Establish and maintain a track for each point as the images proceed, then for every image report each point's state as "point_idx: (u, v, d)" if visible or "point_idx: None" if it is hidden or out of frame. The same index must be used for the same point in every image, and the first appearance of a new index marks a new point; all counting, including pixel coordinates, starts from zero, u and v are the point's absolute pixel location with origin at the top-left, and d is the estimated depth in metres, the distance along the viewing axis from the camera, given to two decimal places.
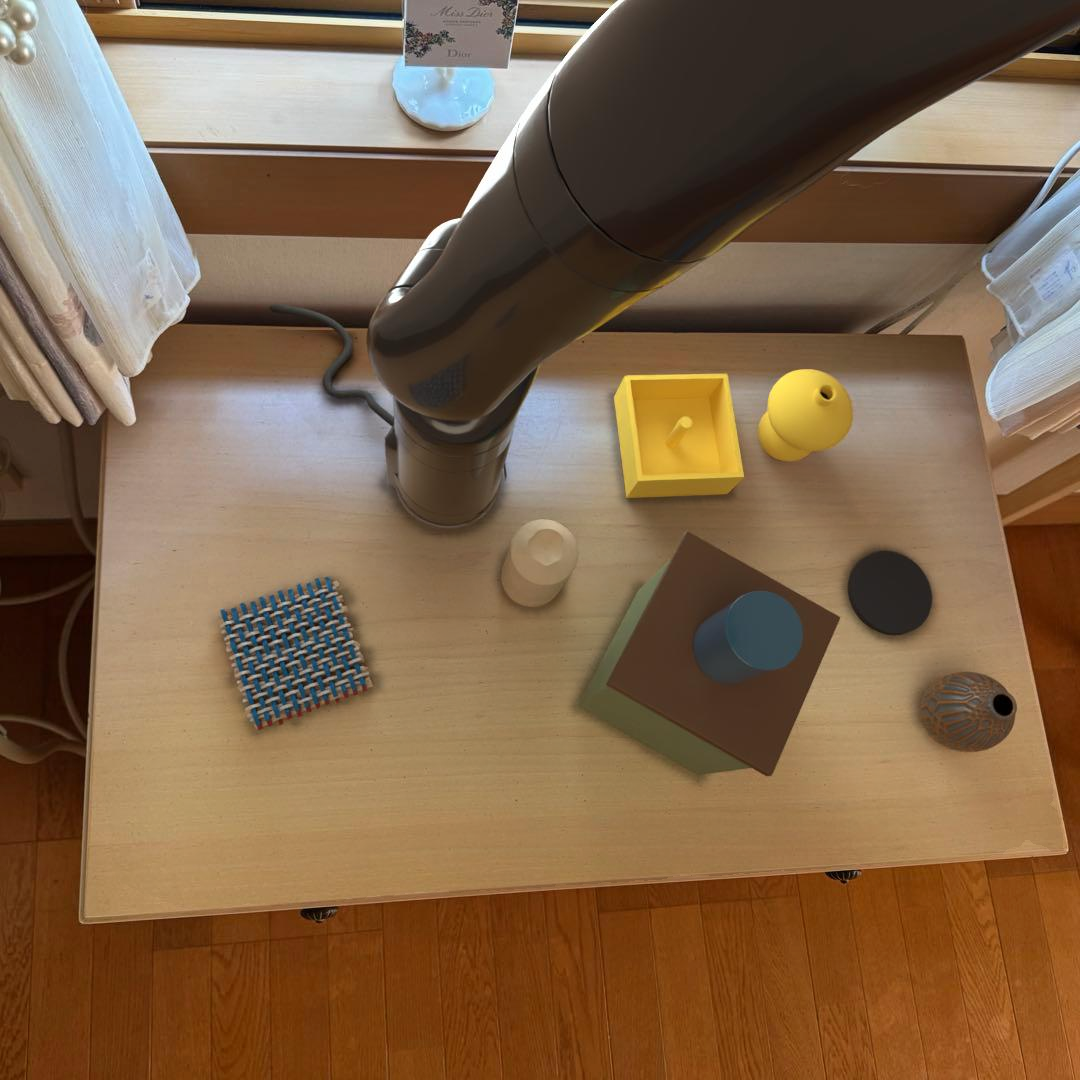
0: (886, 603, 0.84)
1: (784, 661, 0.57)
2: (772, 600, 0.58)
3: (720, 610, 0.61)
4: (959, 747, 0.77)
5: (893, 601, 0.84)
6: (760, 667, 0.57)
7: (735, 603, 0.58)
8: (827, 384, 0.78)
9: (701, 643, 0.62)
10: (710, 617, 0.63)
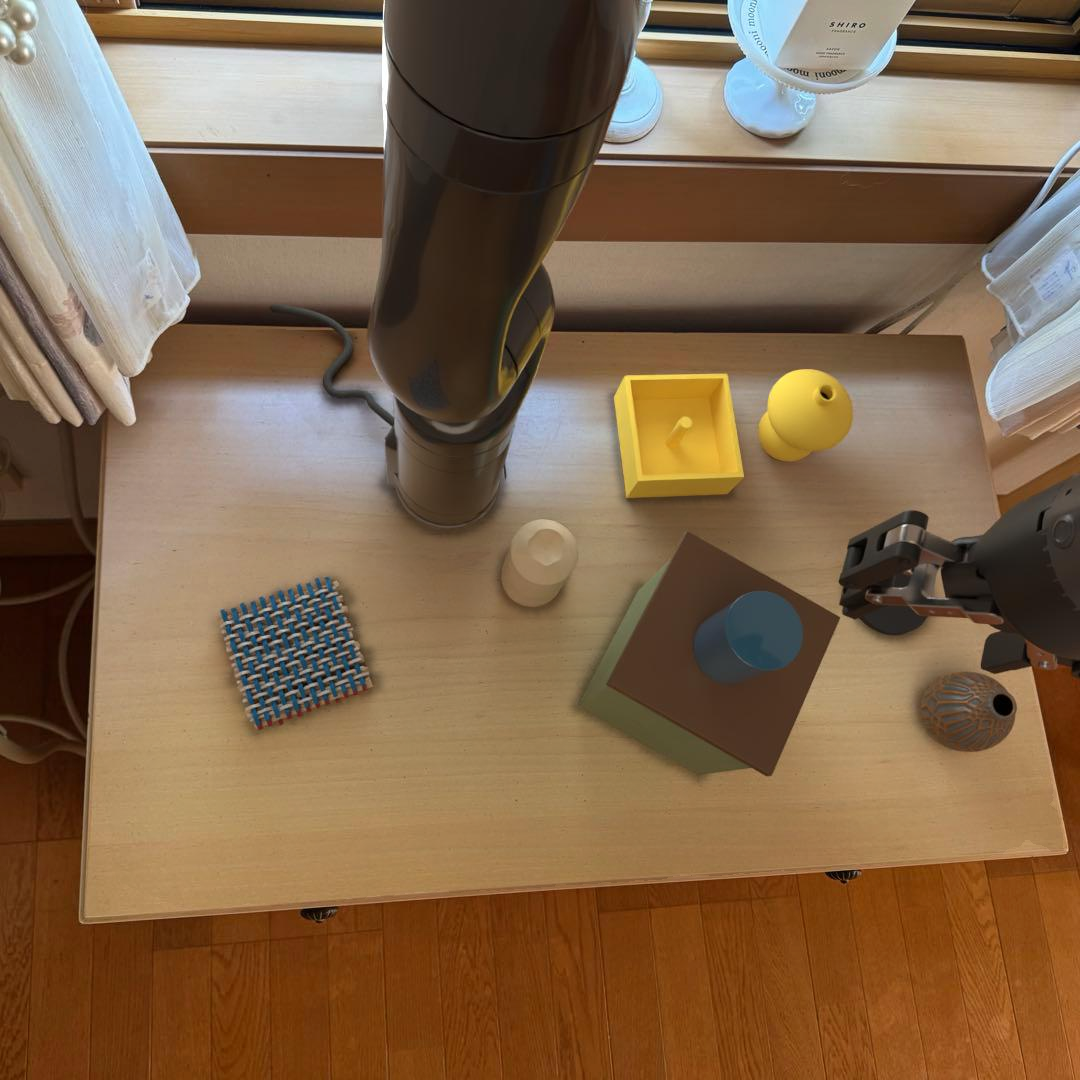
0: None
1: (784, 661, 0.57)
2: (772, 600, 0.58)
3: (720, 610, 0.61)
4: (959, 747, 0.77)
5: None
6: (760, 667, 0.57)
7: (735, 603, 0.58)
8: (827, 384, 0.78)
9: (701, 643, 0.62)
10: (710, 617, 0.63)
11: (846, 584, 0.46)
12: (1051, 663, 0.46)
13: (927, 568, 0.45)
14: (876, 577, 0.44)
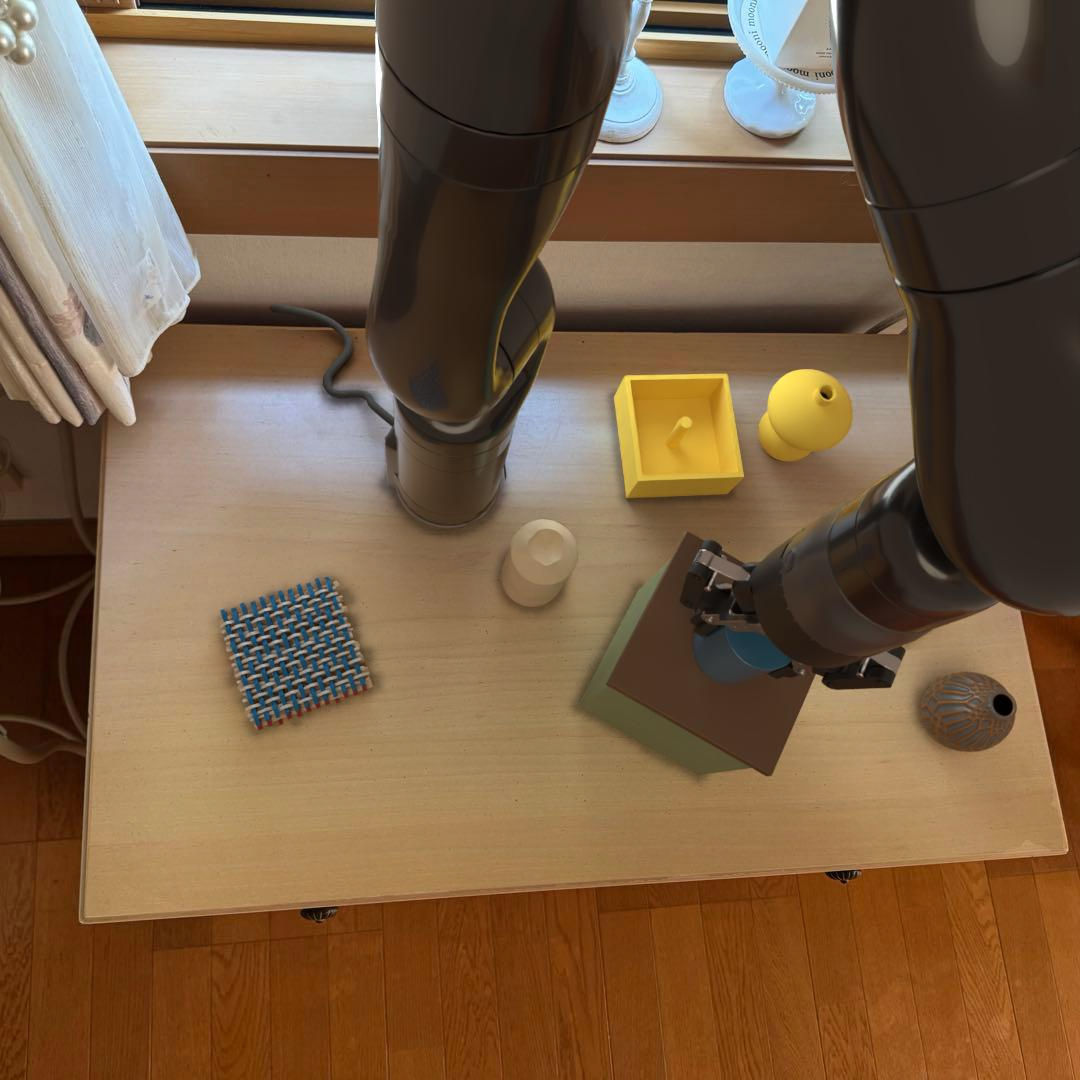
0: None
1: (784, 661, 0.57)
2: None
3: None
4: (959, 747, 0.77)
5: None
6: (760, 667, 0.57)
7: None
8: (827, 384, 0.78)
9: (701, 643, 0.62)
10: None
11: (684, 603, 0.57)
12: (805, 670, 0.57)
13: None
14: (695, 595, 0.55)
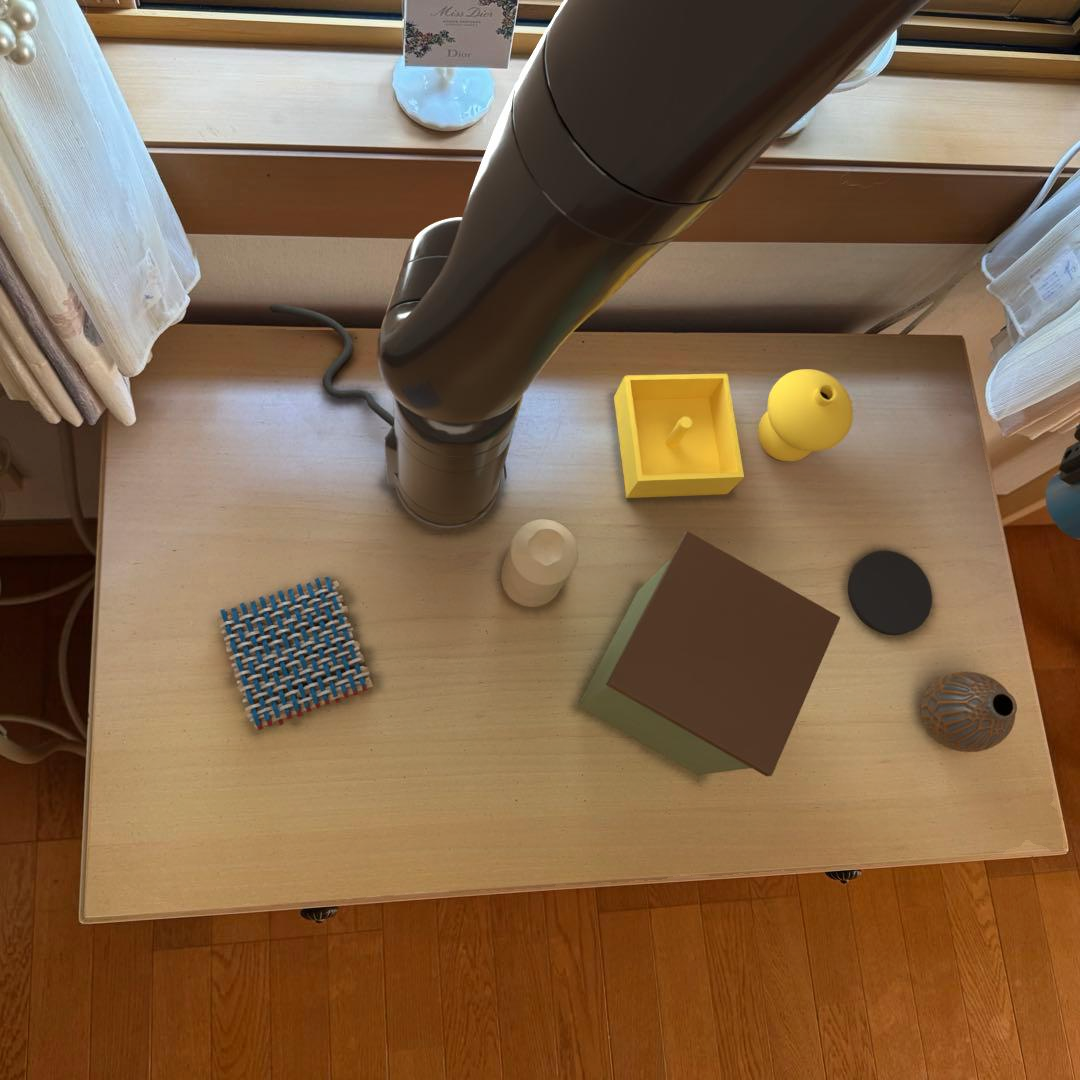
0: (886, 603, 0.84)
1: None
2: None
3: None
4: (959, 747, 0.77)
5: (893, 601, 0.84)
6: None
7: None
8: (827, 384, 0.78)
9: (1066, 493, 0.58)
10: None
11: None
12: None
13: None
14: None
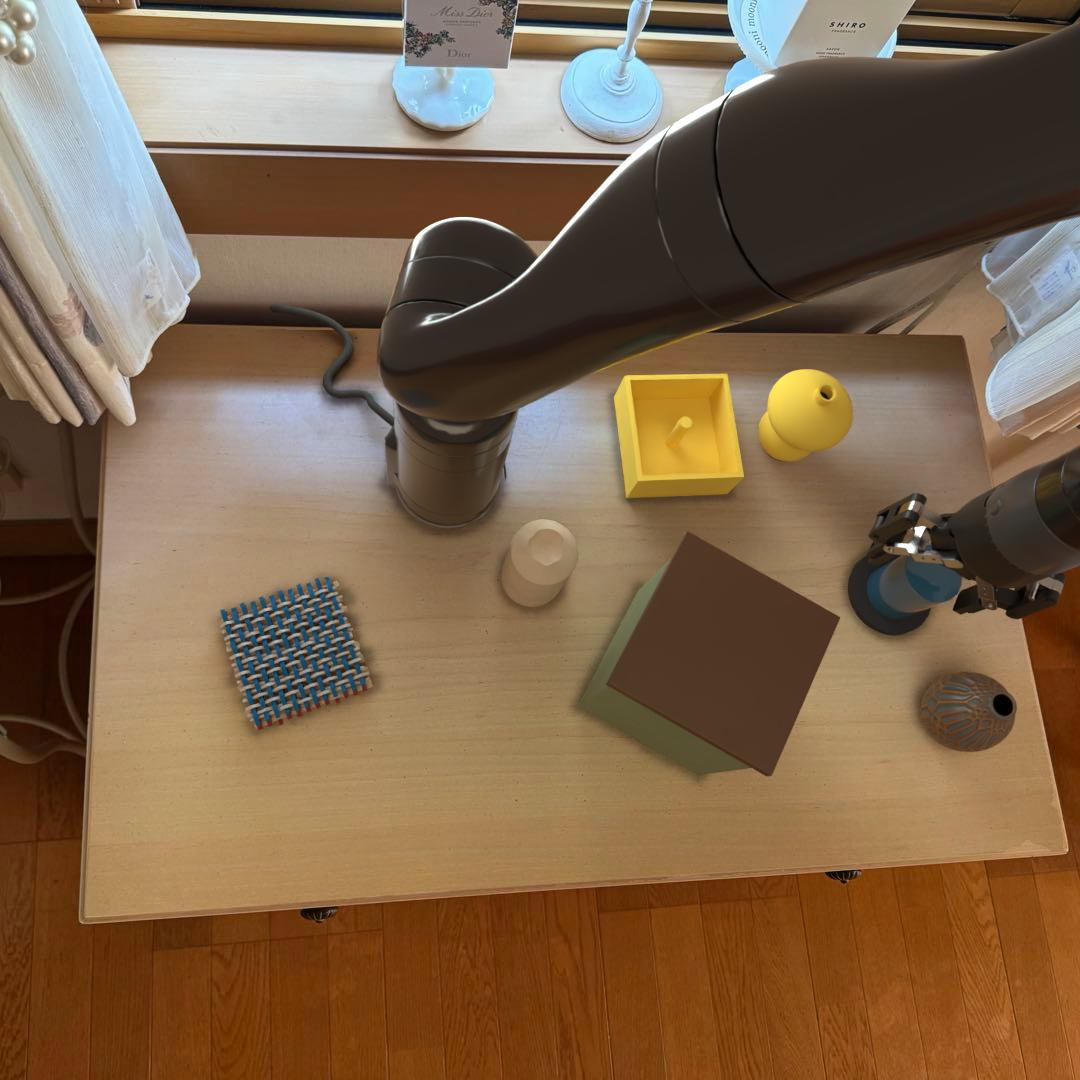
0: None
1: (949, 596, 0.77)
2: None
3: (893, 560, 0.81)
4: (959, 747, 0.77)
5: None
6: (932, 600, 0.77)
7: None
8: (827, 384, 0.78)
9: (876, 586, 0.82)
10: (882, 567, 0.83)
11: (872, 537, 0.75)
12: (993, 604, 0.75)
13: (924, 533, 0.74)
14: (891, 533, 0.73)
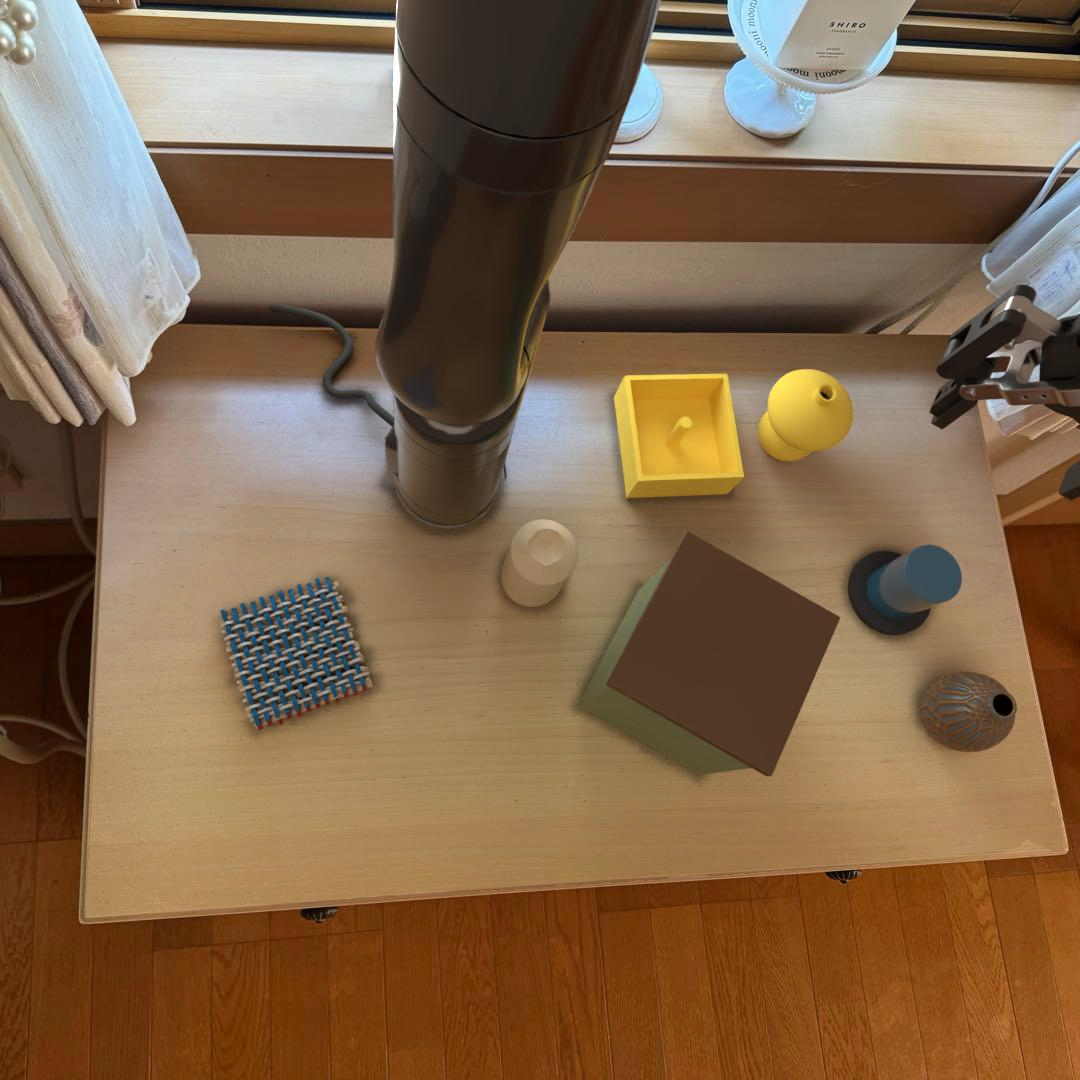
0: None
1: (949, 596, 0.77)
2: (938, 551, 0.78)
3: (893, 560, 0.81)
4: (959, 747, 0.77)
5: None
6: (932, 600, 0.77)
7: (911, 553, 0.78)
8: (827, 384, 0.78)
9: (876, 586, 0.82)
10: (882, 567, 0.83)
11: (944, 370, 0.48)
12: None
13: (1025, 360, 0.47)
14: (976, 357, 0.47)
